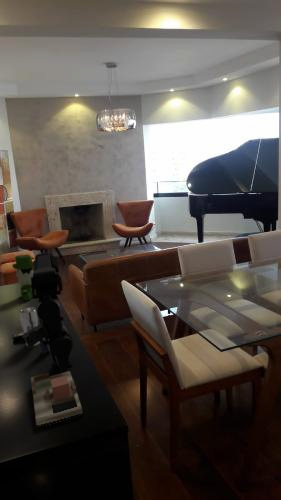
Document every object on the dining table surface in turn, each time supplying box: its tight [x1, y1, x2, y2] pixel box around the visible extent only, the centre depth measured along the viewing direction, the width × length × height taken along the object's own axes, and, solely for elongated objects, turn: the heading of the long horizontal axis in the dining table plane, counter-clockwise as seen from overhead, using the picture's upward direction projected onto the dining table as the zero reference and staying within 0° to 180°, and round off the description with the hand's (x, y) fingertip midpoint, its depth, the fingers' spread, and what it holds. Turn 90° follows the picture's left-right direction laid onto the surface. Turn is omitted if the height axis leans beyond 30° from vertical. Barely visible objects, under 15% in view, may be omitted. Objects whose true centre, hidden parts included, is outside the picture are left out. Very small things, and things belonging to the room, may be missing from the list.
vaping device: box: [38, 323, 49, 355], centre depth 152 cm, size 3×5×12 cm, turn 135°
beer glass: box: [19, 306, 40, 347], centre depth 160 cm, size 7×7×15 cm
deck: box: [30, 371, 84, 426], centre depth 119 cm, size 23×13×4 cm, turn 19°
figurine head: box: [12, 254, 36, 302], centre depth 225 cm, size 22×12×25 cm, turn 10°
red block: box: [51, 376, 71, 399], centre depth 119 cm, size 5×5×4 cm
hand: (59, 367), depth 109 cm, fingers open, 9 cm apart
